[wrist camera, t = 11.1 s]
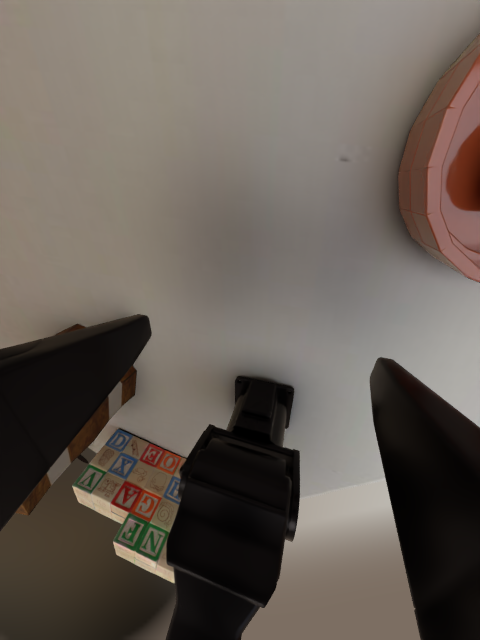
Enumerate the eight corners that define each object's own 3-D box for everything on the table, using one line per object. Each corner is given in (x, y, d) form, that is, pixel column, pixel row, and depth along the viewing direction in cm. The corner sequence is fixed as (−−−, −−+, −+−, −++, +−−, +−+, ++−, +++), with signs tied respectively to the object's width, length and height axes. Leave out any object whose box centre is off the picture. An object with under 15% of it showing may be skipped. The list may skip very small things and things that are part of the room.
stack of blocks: (119, 445, 44) (58, 526, 33) (118, 427, 40) (50, 509, 30) (225, 495, 41) (195, 597, 31) (233, 479, 38) (202, 588, 28)
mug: (118, 411, 38) (19, 523, 25) (47, 357, 36) (-98, 449, 23) (177, 349, 27) (58, 488, 15) (81, 269, 25) (-149, 349, 13)
